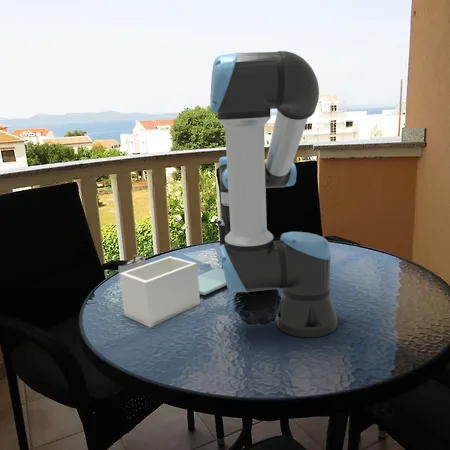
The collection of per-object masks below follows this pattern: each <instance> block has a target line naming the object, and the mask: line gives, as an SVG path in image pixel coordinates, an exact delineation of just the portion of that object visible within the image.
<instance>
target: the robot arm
mask: <svg viewBox="0 0 450 450" xmlns="http://www.w3.org/2000/svg"><path fill="white" fill-rule="evenodd" d="M319 96H320V86H319V82H318V78H317V76H316V73H315V71H314V69H313V68H312V66H311V65H310V64H309V63H308V62H307V61H306V60H305V58H303V57H302V56H300V55H298V54H297V53H294V52H290V51H288V50H287V51H286V50H279V51H265V52H264V51H261V52H260V51H257V52H234V53H227V54H221V55H218V56H217V57H216V58H215V59H214V60H213V64H212V72H211V81H210V99H209V100H210V101H209V102H210V103H209V105H210V106H209V109H210V111H211V113H214V114H217V115H216V116H217V122H218V123H219V124H221V126H223V128H224V130H225V131H224V135H225V152H226V155H225V156H222V157H220V158H219V159H218V172H219V173H218V174H219V185H220V203H221V215H222V216H223V217H222V219H220V220H217V221H216V224H217V227H218V235H219V247H218V249H219V254H220V259H221V265H222V269H223V270H224V275H225V279H226V284H227V285H226V287H227V289H228V290H229V291H230V292H232V293H249V292H250V293H251V292H259V291H268V290H269V291H270V290H280V289H282V294H281V295H282V296H281V299H280V303H279V304H278V305H279V306H278V308H277V312H276V325H277V328H279V329H280V331H282V332H284V333H286V334H287V335H291V336H295V337H297V338H298V337H299V338H318V337H319V338H320V337H323V336H327V335H329V334H331V333H333V332H334V331H335V330H336V329H337V327H338V315H337V312H336V309H335V306H334V304H333V301H332V300H333V299H332V298H331V259H332V257H331V249H330V242H329V241H328V240H327V239H326V238H325V237H324V236H321V235H319V234H314V233H311V232H303V231H288V232H284V233H282V234H281V235H280V240H274V235H273V233H271V232H270V231H269V230H268V228H267V199H266V198H267V197H266V196H267V193H266V189H270V188H271V189H273V188H275V189H276V188H285V187H291V186H294V185H295V184H296V182H297V175H298V174H297V168H296V164H295V163H294V161H295V158H296V154H297V152H298V149H299V145H300V142H301V140H302V137H303V133H304V131H305V128H306V125H307V122H308V119H309V118H310V117H312V116H313V115H314V114H315V112H316V109H317V106H318V103H319V99H320V97H319ZM275 109H276V110H277V112H276V115H275V121H274V125H273V126H274V127H273V129H272V133H271V134H272V135H271V138H270V143H269V147H268V153H267V156H266V158H265V126H266V124H267V122H269V120H271V110H275ZM265 159H266V160H265Z"/></svg>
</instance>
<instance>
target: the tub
mask: <svg viewBox="0 0 450 450" xmlns="http://www.w3.org/2000/svg"><path fill="white" fill-rule="evenodd" d="M198 271H199V270H198V263H197V262H193V261H190V260H188V259H187V260H186V259H184V258H180V257H179V258H178V257H175V256H171V255H169V256H166V257H164V258H160V259H158V260H155V261H151V262H148V263H146V264H145V265H143V266H140V267H137V268H134V269H131V270H128V271H125V272H122V273H119V272H118V276H119V283H120V290H121V291H120V292H121V297H122V298H121V299H122V300H121V301H122V304H123V305H122V306H123V315H124V316H125V317H127V318H129V319H132V320H133V321H136V322H138V323H140V324H142V325H144V326H146V327H148V328H153V327H155V326H156V325H159V324H161V323H163V322H165V321H168V320H169V319H171V318H174V317H176V316H177V315H180V314H182V313H184V312H186V311H188V310H191V309H192V308H194V307H197V306H199V305H201V298H200V297H201V296H200V295H201V294H200V293H199V283H198V275H199V272H198Z"/></svg>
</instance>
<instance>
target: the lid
mask: <svg viewBox="0 0 450 450" xmlns="http://www.w3.org/2000/svg"><path fill="white" fill-rule="evenodd" d="M198 283H199V295H204V296H205V295H207V294H211V292H215V291H216V290H219V289H221V288H223V287H225V286H227V284H226V279H225V275H224V270H223V268H219V267H215V268H213V269H211V270H209V271H206V272H203V273H202V274H198Z"/></svg>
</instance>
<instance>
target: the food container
mask: <svg viewBox="0 0 450 450" xmlns="http://www.w3.org/2000/svg"><path fill="white" fill-rule="evenodd" d="M145 264H147V261H146V258H145V257H144V256H143V255H142V254H133V257H132V258H131V259H130V260H127V261H126V262H125V263H124V264H123V265H118V274H119V273H122V272H125V271H128V270H131V269H134V268H137V267H140V266H143V265H145Z"/></svg>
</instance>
